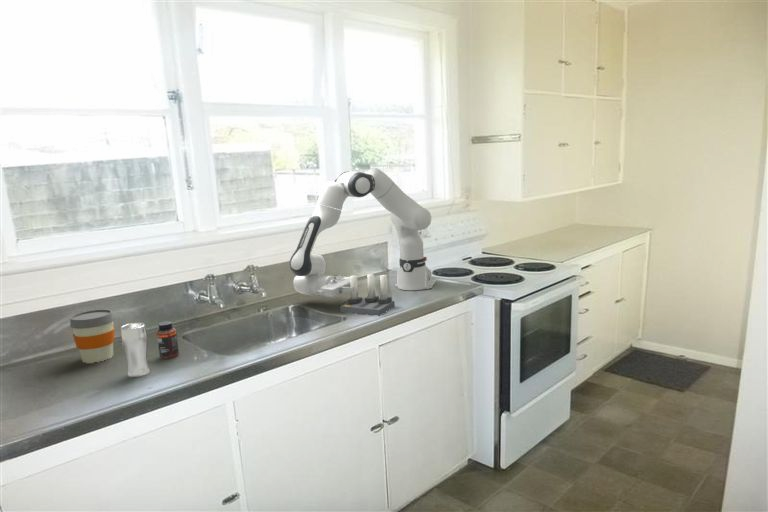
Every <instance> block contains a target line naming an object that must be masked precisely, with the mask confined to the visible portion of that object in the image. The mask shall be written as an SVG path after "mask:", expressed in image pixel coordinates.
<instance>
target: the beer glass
mask: <svg viewBox="0 0 768 512" xmlns="http://www.w3.org/2000/svg"><path fill="white" fill-rule="evenodd" d="M120 337H121V338H120V339H121V346H122V349H123V353H124V356H125V358H126V360H127V365H128V366H127V369H128V370H127V376H128V377H129V378H139V377H144V376H146V375H148V374H149V373H150V372H151V369H150V366H149V362H148V348H149V347H148V343H149V341H148V333H147V328H146V324H145V323H144V322H131V323H127V324H124V325H122V326H121V327H120Z"/></svg>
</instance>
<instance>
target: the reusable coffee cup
mask: <svg viewBox="0 0 768 512" xmlns="http://www.w3.org/2000/svg"><path fill="white" fill-rule="evenodd" d="M69 319H70V323H69V324H70V328H71V329H72V331H73V334H72V337H73V340H74V343H75V347H76V348H77V349H78V350H79V355H80V358H81V359H82V360H81V361H82V363H84V362H86V363H85V364H95V363H94V362H97V363H101V362H100V361H102V362H105V361H107V359H108V360H109V358H110V359H112V358H113V357H114V342H115V326H114V320H115V318H114V313H113V310H111V309H105V308H104V309H103V308H101V309H92V310H86V311H81V312H77V313H75V314H74V315H73V314H72V316H70V317H69ZM112 356H113V357H112ZM104 360H105V361H104Z"/></svg>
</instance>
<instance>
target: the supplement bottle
mask: <svg viewBox="0 0 768 512" xmlns="http://www.w3.org/2000/svg"><path fill="white" fill-rule="evenodd" d="M158 328H159V329H158V330H157V331H156V338H157V344H158V353H159V358H160V359H162V360H163V359H164V360H166V359H173V358H176V357H177V356H179V354H180V353H179V352H180V350H179V344H178V336H177V330H176V328H175V327H173V322H172V321H167V320H166V321H163V322H159V324H158Z"/></svg>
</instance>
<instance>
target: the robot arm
mask: <svg viewBox="0 0 768 512" xmlns="http://www.w3.org/2000/svg"><path fill="white" fill-rule="evenodd" d="M369 194H371V195H372V196H373V197H374V198H375V200H377V202H378V203H379V204H381V206H382V207H383V208H384V209H385V210H386V211H388V212H390V220H391V221H392V223H393V225H394V228H395V229H396V235H397V237H398V243H399V258H398V259H399V261H398V262H399V268H398V269H397V270H396V271H397V272H396V274H397V275H396V277H397V279H396V282H395V283H394V286H395V287H397V289H399V290H403V291H421V290H429V289H430V288H431V289H432V288H433V287H434V286H435V284H436V283H437V280H436V279H433V278H432V271H431V269H430V268H429V267H428V266H427V265H426V263H427V261H428V257H427V256H424V240H423V239H422V237H421V236H420V234H419V231H422V230H426V229H427V228H428V227H430V225H431V222H432V215H431V212H430V211H429V210H428V209H426V208H424V207H423V206H422V205H420V204H419V203H418V202H416V201H415V200H414V199H413V198H412V197H410V196H409V195H407V193H405V192H404V191H403V190H402V189H401V188H400V187H399V186H398V185H397V184H396V183H395V182H394V180H393V179H392V178H391V177H389V176H388V174H386V173H385V172H383V171H382V170H381V169H379V168H377V167H372V168H370V169H368V170H367V171H366V172H363V171H362V172H361V171H356V170H352V171H350V170H349V171H344V172H341V173H340V174H339V176H338V177H337V178H336V179H335V180H334V181H332V180H331V181H330V180H329V181H326V182H325V184H324V185H323V186H322V189H321V191H320V193H319V195H318V199H317V202H316V204H315V208H314V210H313V213H312V215H311V216H310V218H309V219H308V221H307V222H306V223H305V227H304V229H303V232H302V233H301V236H300V238H299V240H298V244H297V246H296V249H295V251H294V252H293V253H292V255H291V257H290V260H289V269H290V271H291V273H293V275H295V276H294V278H293V282H292V283H293V287H294V290H295V291H296V292H297V293H299V294H303V295H306V296H307V295H309V296H315V295H316V296H319V297H327V298H335V297H338V296H340V295H342V294H344V293H351V292H353V291H354V287H350V276H341V275H340V274H335V275H326V270H327V259H326V258H325V257H324V256H323V255H322V254H319V253H312V252H313V249H314V246H315V245H316V240H317V238H318V236H319V235H320V234H321V233H322V232H323V231H325V230H327V229H331V228H332V227H333V226H335V225H336V224H337V223H338V221H339V219H340V217H341V214H342V210H343V208H344V207H343V205H344V203H345V201H346V199H347V198H348V197H352V198H364V197H366V196H367V195H369ZM433 285H434V286H433ZM359 289H360V284H358V290H359Z"/></svg>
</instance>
